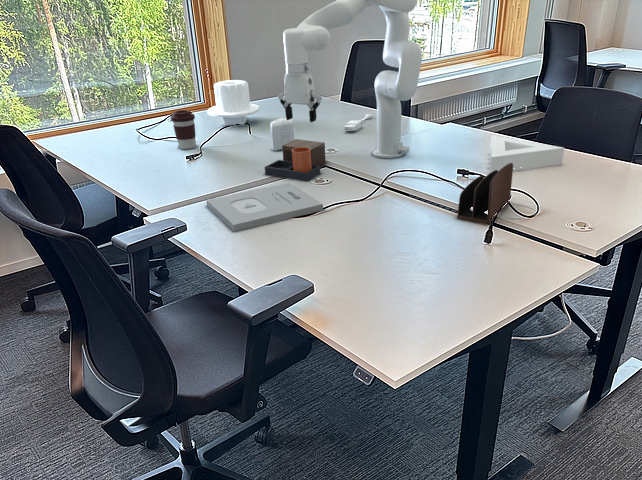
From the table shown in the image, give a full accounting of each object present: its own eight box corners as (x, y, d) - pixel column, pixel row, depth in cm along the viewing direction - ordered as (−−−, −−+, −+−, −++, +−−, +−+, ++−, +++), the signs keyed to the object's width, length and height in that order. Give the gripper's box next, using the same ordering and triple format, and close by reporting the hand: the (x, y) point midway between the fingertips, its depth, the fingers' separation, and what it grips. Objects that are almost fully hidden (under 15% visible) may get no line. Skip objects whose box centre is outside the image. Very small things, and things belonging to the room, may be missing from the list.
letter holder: (509, 203, 185) (515, 159, 178) (488, 225, 171) (493, 178, 164) (479, 197, 190) (483, 155, 183) (456, 218, 175) (460, 173, 168)
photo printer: (291, 145, 250) (289, 115, 244) (296, 147, 247) (294, 117, 241) (270, 149, 245) (267, 119, 239) (275, 151, 242) (272, 121, 236)
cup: (315, 172, 215) (314, 148, 211) (305, 178, 210) (304, 153, 205) (299, 169, 218) (298, 146, 214) (289, 175, 213) (287, 151, 208)
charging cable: (374, 119, 289) (374, 112, 288) (353, 132, 263) (353, 125, 261) (364, 118, 291) (364, 111, 289) (343, 132, 264) (343, 124, 263)
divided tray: (320, 173, 216) (320, 165, 214) (307, 181, 209) (306, 173, 207) (279, 167, 224) (278, 159, 222) (265, 174, 217) (264, 166, 215)
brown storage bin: (325, 163, 227) (324, 142, 223) (312, 170, 219) (311, 149, 215) (297, 159, 233) (296, 139, 228) (283, 166, 225) (282, 145, 221)
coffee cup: (171, 149, 250) (164, 113, 242) (184, 143, 258) (178, 108, 250) (190, 151, 247) (184, 115, 239) (203, 144, 254) (198, 109, 247)
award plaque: (323, 210, 184) (322, 203, 183) (234, 231, 172) (233, 224, 171) (289, 188, 203) (288, 182, 202) (207, 206, 191) (206, 199, 190)
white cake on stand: (257, 128, 276) (253, 86, 267) (205, 130, 277) (199, 88, 267) (263, 116, 298) (260, 77, 288) (215, 117, 298) (209, 78, 289)
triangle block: (561, 164, 217) (564, 147, 213) (528, 183, 200) (530, 165, 197) (489, 150, 235) (491, 134, 231) (454, 166, 218) (455, 149, 215)
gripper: (324, 67, 195) (327, 119, 204) (281, 65, 202) (286, 115, 211) (313, 72, 189) (316, 125, 198) (269, 69, 197) (274, 120, 206)
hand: (301, 120), depth 205 cm, fingers open, 9 cm apart
